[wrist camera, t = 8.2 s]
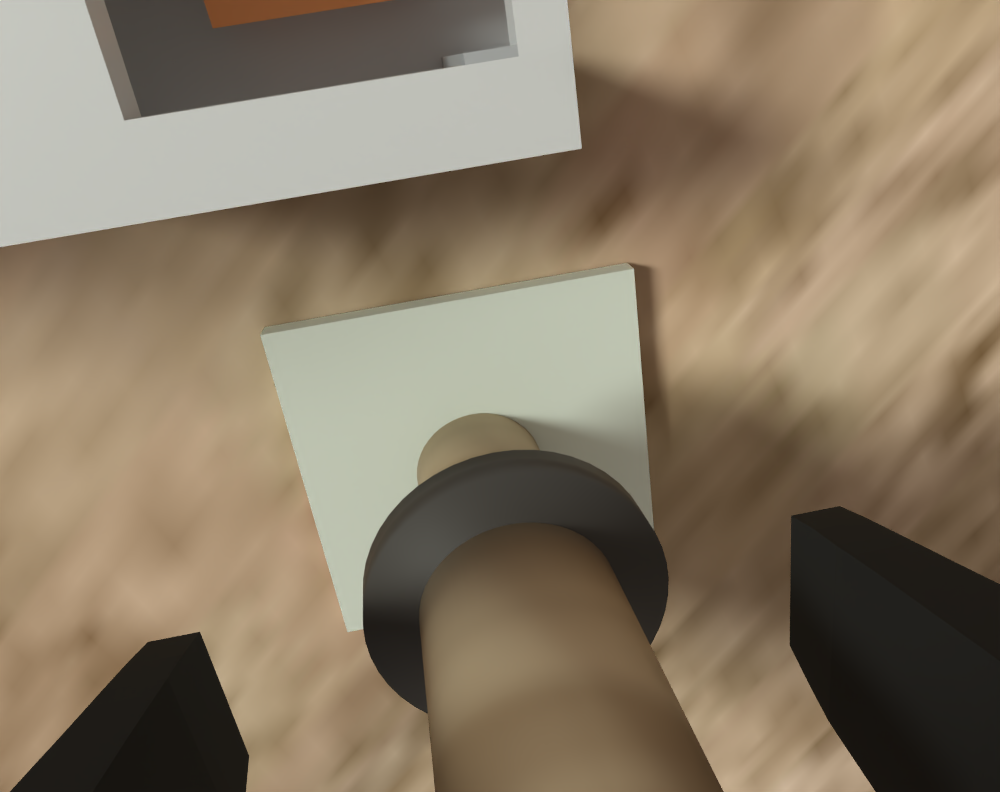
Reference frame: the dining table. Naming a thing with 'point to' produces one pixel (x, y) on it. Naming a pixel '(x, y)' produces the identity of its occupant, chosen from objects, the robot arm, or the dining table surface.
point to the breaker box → (263, 103)
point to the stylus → (527, 621)
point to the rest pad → (456, 394)
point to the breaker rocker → (269, 9)
